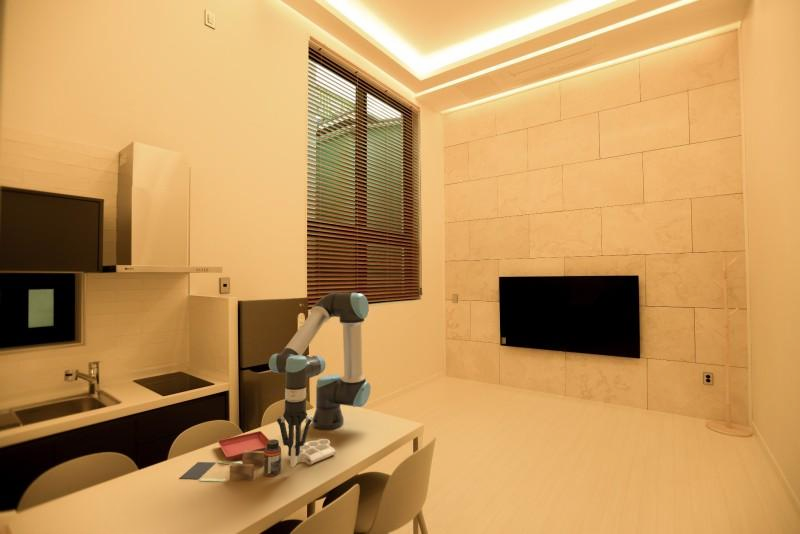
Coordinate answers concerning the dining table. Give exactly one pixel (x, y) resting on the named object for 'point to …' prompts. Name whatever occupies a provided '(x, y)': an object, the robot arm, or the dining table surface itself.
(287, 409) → the robot arm
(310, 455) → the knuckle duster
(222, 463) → the strips
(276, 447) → the supplement bottle
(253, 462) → the tunnel
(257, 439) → the plant saucer
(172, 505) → the dining table surface
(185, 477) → the mat
